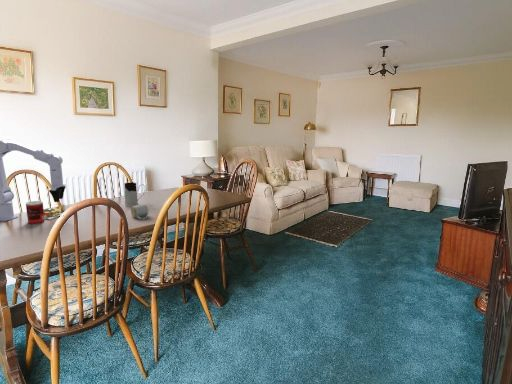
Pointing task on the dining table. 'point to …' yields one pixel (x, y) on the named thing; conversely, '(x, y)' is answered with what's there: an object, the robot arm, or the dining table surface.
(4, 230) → the dining table surface
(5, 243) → the dining table surface
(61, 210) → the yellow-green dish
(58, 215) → the cap plate
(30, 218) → the canned food
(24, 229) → the dining table surface
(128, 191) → the glass holder
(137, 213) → the ceramic mug
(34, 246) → the dining table surface
